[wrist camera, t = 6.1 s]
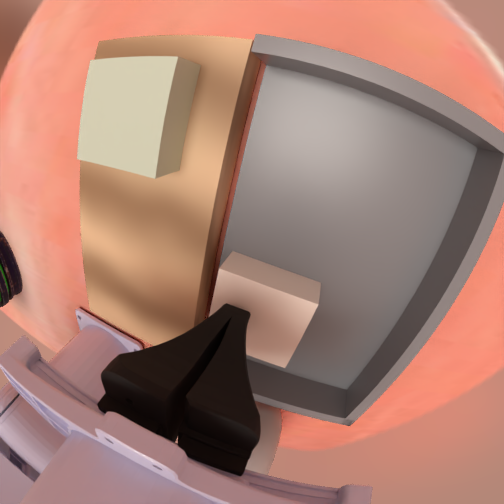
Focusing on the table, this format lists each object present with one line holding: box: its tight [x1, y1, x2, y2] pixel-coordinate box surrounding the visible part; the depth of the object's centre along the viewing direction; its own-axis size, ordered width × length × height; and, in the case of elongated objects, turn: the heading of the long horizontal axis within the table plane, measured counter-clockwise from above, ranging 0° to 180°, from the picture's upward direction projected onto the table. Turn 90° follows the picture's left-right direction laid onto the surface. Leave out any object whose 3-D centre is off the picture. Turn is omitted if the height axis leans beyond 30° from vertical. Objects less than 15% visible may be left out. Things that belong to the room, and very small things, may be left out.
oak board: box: [80, 35, 261, 346], centre depth 15 cm, size 19×9×2 cm, turn 166°
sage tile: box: [77, 56, 201, 179], centre depth 10 cm, size 5×5×2 cm
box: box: [214, 34, 504, 426], centre depth 13 cm, size 19×12×3 cm, turn 166°
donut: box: [245, 401, 282, 475], centre depth 17 cm, size 10×4×10 cm, turn 166°
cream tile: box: [209, 251, 321, 368], centre depth 15 cm, size 5×5×2 cm
